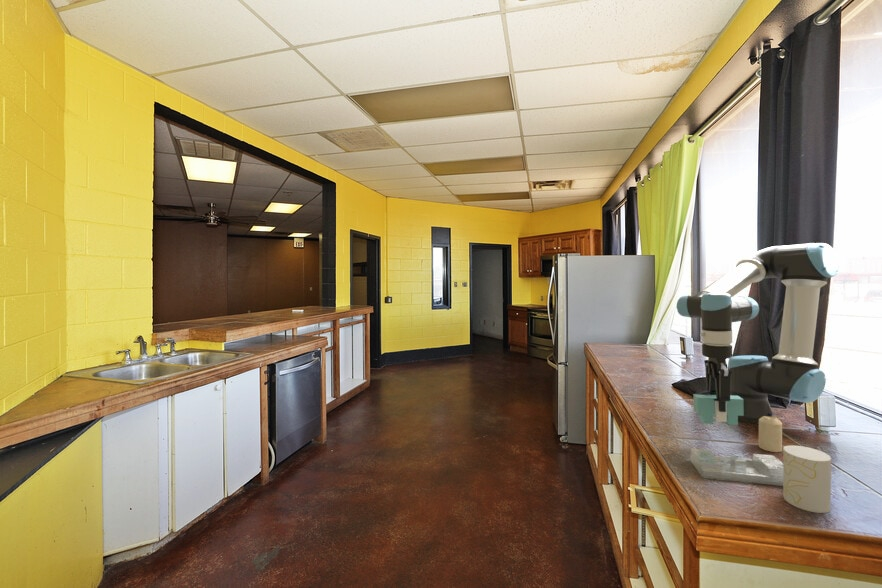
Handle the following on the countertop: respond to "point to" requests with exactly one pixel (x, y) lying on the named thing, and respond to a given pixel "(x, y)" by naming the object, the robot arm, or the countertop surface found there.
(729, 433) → the countertop surface
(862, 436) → the countertop surface
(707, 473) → the white block holder tray
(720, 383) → the robot arm
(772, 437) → the candle
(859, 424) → the countertop surface
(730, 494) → the countertop surface
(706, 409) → the teal notched block
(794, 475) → the cup
